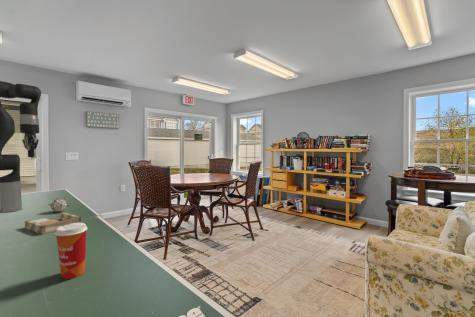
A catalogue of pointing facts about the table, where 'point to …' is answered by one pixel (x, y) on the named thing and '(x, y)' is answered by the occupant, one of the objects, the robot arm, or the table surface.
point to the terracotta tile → (49, 222)
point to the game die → (58, 205)
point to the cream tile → (41, 220)
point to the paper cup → (72, 249)
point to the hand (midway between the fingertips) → (31, 157)
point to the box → (52, 227)
